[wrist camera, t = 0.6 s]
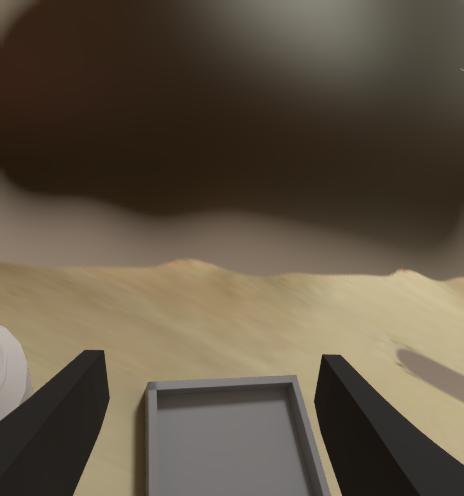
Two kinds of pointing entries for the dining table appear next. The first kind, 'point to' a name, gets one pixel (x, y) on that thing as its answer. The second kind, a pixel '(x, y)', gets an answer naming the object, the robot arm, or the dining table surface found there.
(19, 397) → the can
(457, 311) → the dining table surface
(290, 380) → the tray
